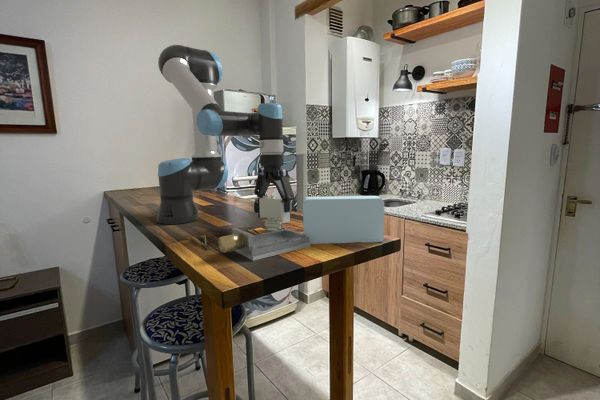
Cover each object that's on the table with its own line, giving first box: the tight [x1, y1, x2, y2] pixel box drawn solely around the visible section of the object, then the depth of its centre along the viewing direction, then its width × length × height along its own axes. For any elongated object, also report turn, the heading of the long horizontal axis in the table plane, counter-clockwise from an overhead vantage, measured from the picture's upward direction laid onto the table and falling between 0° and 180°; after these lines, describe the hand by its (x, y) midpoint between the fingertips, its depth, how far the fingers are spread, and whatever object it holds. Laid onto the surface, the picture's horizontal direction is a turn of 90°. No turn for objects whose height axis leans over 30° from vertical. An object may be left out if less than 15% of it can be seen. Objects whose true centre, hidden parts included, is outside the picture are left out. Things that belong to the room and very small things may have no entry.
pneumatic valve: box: [253, 194, 293, 232], centre depth 108 cm, size 6×12×12 cm, turn 79°
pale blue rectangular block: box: [302, 195, 385, 245], centre depth 95 cm, size 23×6×13 cm, turn 91°
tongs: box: [191, 234, 210, 251], centre depth 94 cm, size 4×13×2 cm, turn 34°
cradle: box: [218, 227, 311, 261], centre depth 88 cm, size 23×13×6 cm, turn 128°
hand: (273, 219), depth 108 cm, fingers open, 13 cm apart
